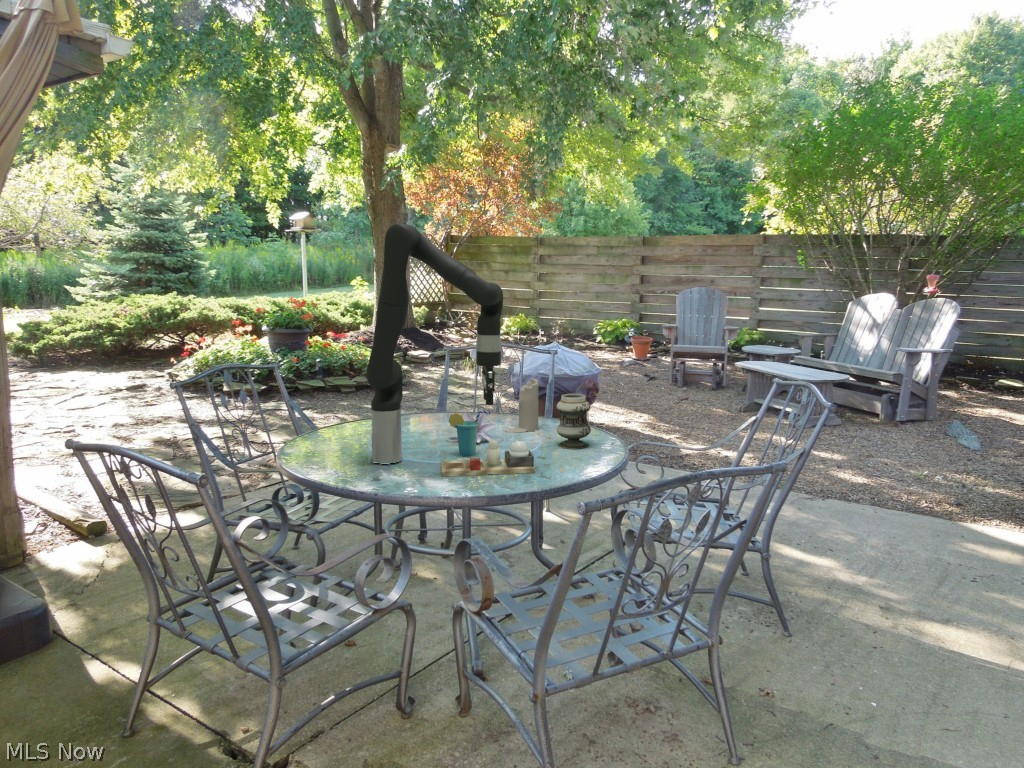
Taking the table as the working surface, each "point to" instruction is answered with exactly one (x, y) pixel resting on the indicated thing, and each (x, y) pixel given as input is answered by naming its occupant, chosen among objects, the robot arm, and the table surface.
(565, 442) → the apothecary jar
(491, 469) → the board
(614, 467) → the table surface
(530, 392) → the candle
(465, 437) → the cup
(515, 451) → the pale round cylinder
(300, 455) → the table surface
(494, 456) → the pawn
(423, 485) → the table surface
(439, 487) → the table surface
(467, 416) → the water lily
